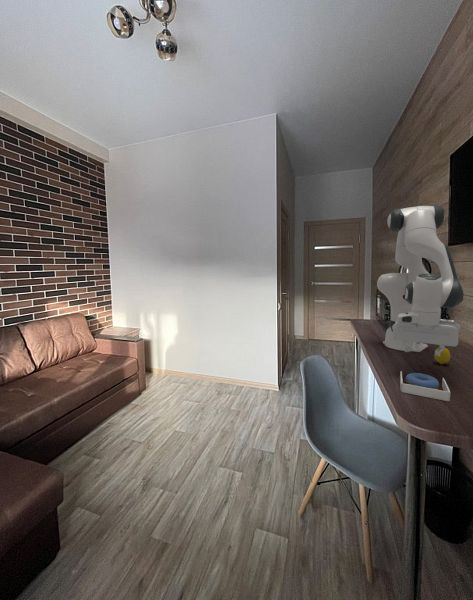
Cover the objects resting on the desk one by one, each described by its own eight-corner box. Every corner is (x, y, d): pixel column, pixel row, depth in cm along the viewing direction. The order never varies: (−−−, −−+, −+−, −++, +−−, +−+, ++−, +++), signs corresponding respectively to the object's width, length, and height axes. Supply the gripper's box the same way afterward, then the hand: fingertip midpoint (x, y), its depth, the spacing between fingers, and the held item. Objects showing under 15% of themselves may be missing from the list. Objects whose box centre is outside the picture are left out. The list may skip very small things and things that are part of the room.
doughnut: (425, 394, 89) (426, 381, 89) (398, 384, 98) (399, 371, 98) (445, 393, 92) (447, 379, 92) (417, 382, 101) (418, 371, 101)
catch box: (399, 378, 102) (400, 370, 102) (443, 386, 96) (444, 378, 95) (400, 391, 91) (401, 383, 91) (449, 401, 85) (450, 392, 84)
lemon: (430, 363, 119) (432, 345, 118) (438, 361, 121) (440, 344, 120) (444, 367, 114) (446, 349, 113) (452, 365, 116) (454, 347, 115)
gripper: (459, 319, 97) (455, 355, 99) (393, 314, 107) (391, 347, 109) (463, 322, 92) (458, 361, 94) (393, 317, 102) (391, 352, 104)
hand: (421, 353), depth 102 cm, fingers open, 8 cm apart
